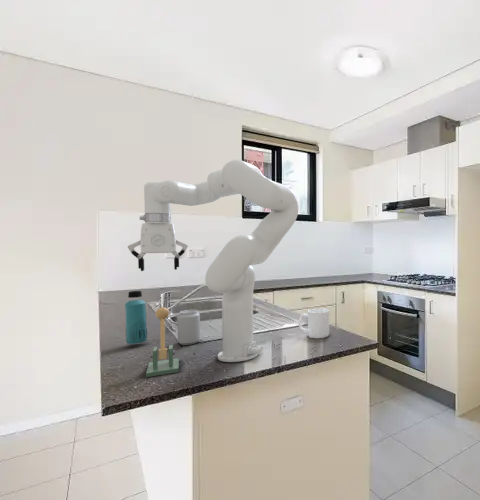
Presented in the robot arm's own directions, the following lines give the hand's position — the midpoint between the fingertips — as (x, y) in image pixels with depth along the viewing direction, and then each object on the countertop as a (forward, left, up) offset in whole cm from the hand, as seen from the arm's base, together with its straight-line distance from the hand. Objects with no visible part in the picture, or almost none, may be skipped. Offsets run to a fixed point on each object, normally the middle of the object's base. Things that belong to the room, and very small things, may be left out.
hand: (159, 270), depth 120 cm
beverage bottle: (+16, -4, -28) cm, 33 cm away
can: (0, -12, -28) cm, 31 cm away
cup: (-41, -33, -28) cm, 60 cm away
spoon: (-12, +10, -18) cm, 24 cm away
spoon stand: (-14, +12, -28) cm, 34 cm away
